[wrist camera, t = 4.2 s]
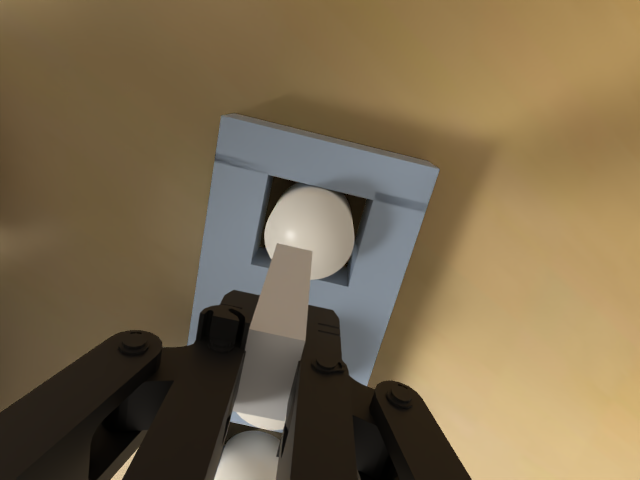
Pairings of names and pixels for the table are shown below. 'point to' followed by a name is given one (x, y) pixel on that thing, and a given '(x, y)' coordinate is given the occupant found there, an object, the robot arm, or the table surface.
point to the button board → (326, 172)
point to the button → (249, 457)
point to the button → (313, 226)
